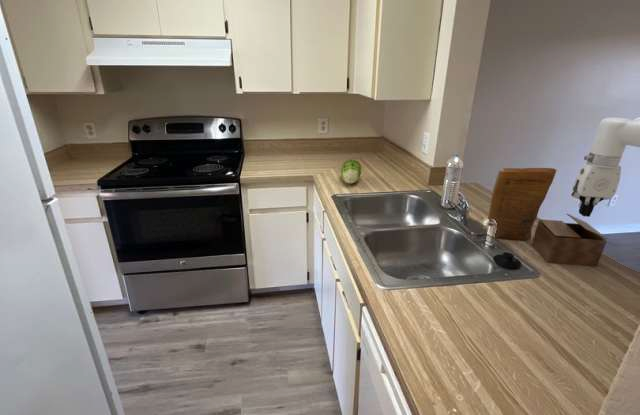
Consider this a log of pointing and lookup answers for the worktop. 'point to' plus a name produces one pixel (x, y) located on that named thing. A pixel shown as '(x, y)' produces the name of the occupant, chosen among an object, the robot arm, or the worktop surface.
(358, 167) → the lettuce
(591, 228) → the flap
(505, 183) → the wooden cutting board
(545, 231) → the carton
